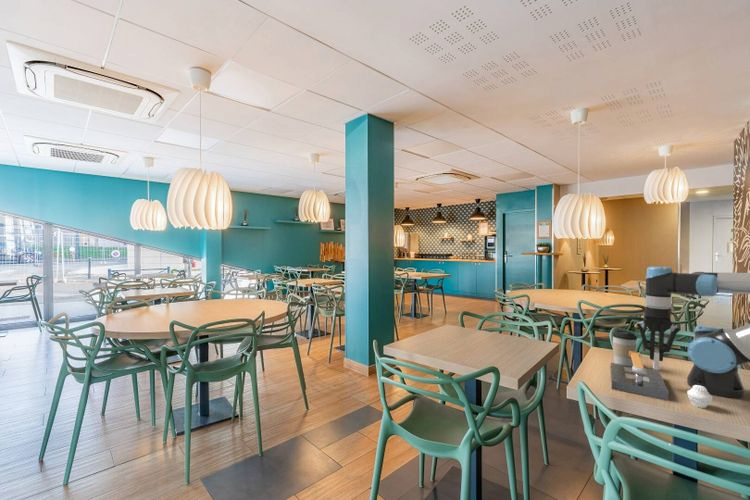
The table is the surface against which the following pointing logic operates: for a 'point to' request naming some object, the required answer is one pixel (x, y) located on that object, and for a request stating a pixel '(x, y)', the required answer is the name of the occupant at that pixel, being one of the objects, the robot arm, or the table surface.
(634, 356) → the swing arm
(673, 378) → the table surface
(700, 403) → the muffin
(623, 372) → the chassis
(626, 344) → the coffee cup
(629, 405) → the table surface
